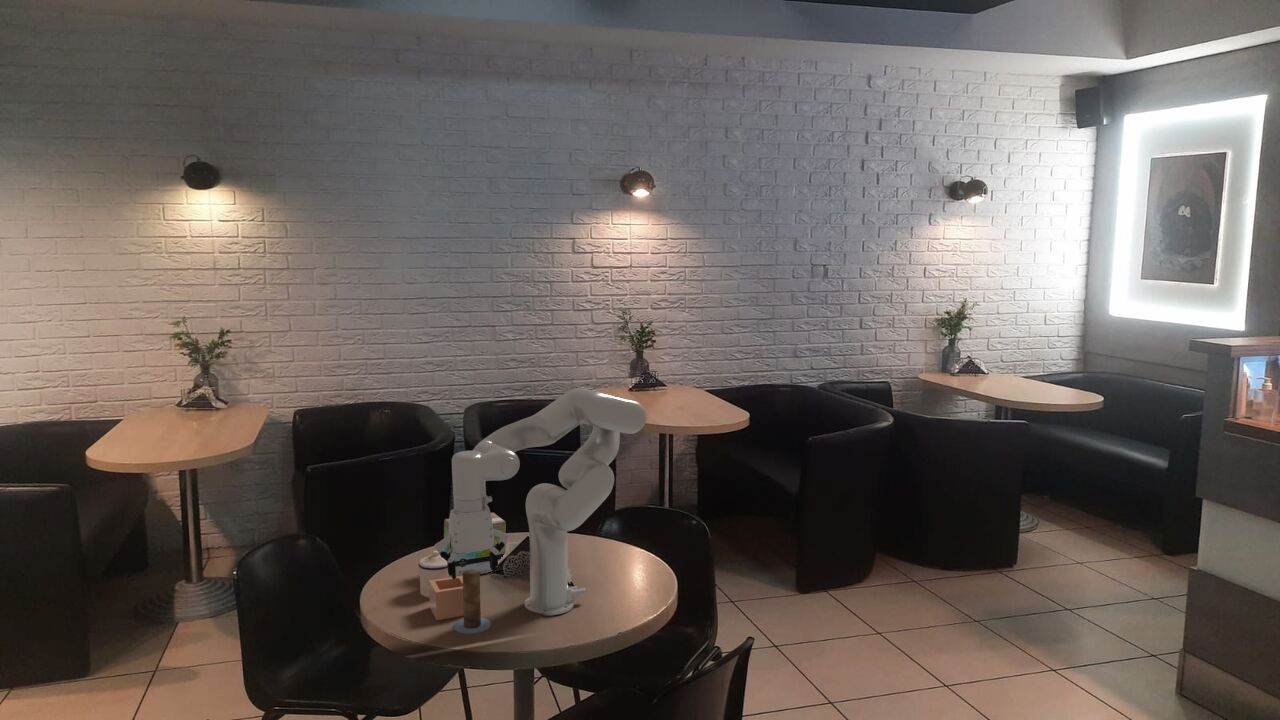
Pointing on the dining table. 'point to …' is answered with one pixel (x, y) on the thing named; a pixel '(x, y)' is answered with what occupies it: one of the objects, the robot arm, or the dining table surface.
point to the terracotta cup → (446, 597)
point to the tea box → (477, 558)
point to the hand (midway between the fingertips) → (473, 573)
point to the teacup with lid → (432, 571)
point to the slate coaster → (460, 628)
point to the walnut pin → (471, 599)
